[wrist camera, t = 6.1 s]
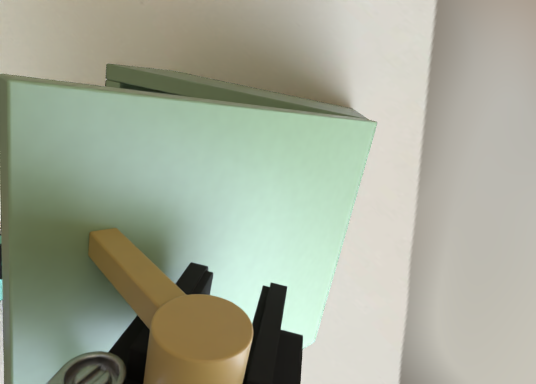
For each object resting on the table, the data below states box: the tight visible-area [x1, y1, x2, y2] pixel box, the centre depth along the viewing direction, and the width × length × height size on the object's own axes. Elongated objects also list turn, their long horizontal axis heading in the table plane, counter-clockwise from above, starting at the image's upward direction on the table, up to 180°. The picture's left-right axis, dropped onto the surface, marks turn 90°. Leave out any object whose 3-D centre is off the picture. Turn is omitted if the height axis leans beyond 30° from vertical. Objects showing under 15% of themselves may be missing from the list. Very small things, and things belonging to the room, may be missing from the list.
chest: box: [105, 64, 369, 120], centre depth 24 cm, size 14×13×9 cm
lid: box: [0, 74, 377, 384], centre depth 12 cm, size 14×13×6 cm
